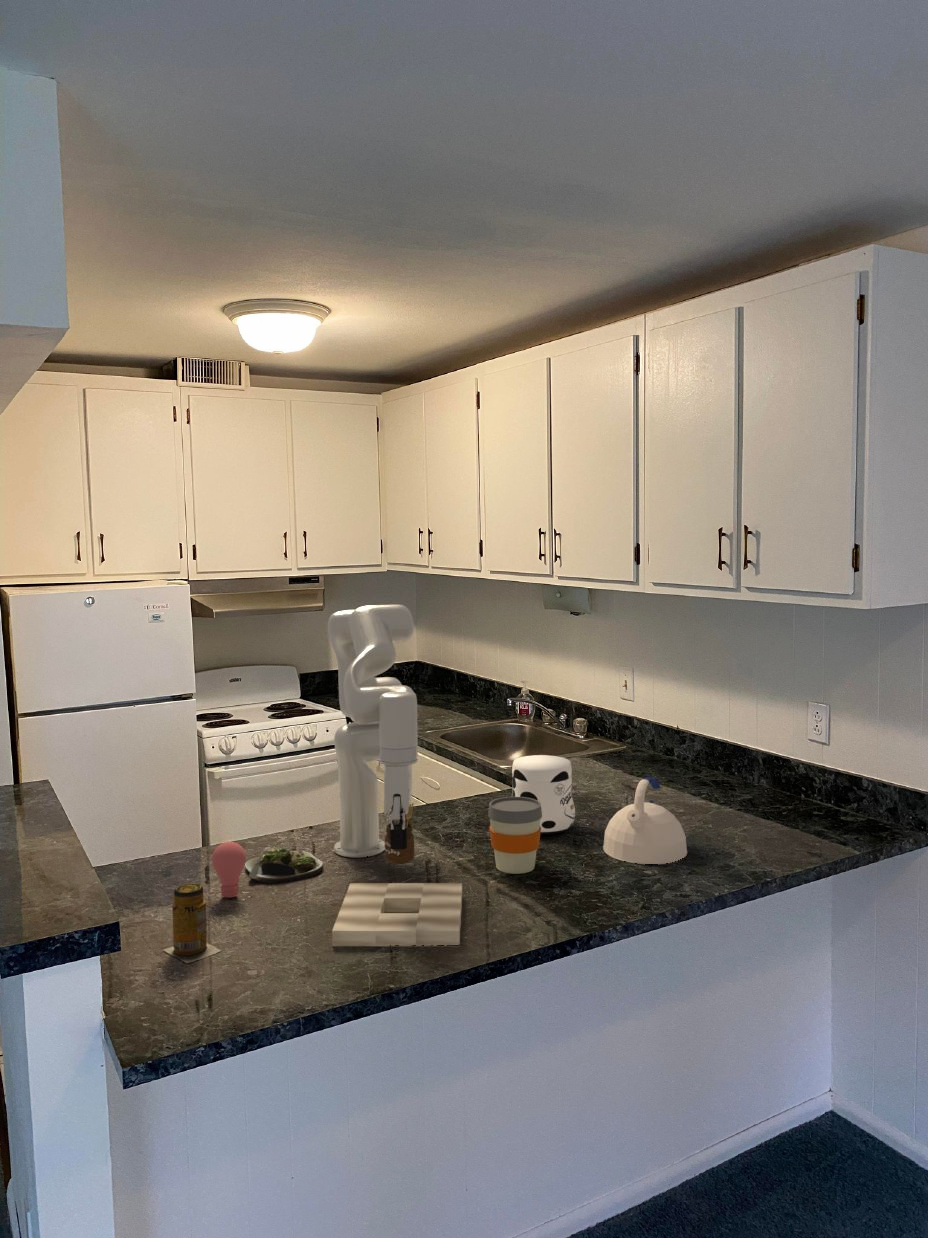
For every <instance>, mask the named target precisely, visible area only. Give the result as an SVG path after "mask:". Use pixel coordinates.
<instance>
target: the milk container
mask: <svg viewBox="0 0 928 1238" xmlns="http://www.w3.org/2000/svg"><path fill="white" fill-rule="evenodd" d="M511 767H512V769H511V772H512V778H511V780H512V781H511V783H512V794H511V797H527V798H532V799H535V800H537V801H539V802H540V803H541V810H542V818H541V819H540V827H541V834H540V835H553V834H554V835H555V834H560V833H562V832H566V831H568V830H569V829H570V828H572V827H573V825H574V823H575V818H576V817H575V816H576V808H575V807H576V806H575V803H574V799H573V793H572V785H573V784H572V783H573V782H572V781H573V780H572V779H573V778H572V775H573V774H572V772H573V771H572V762H571V761H570V760H569V759H568V758H565V757H561V756H557V755H547V754H538V755H537V754H535V755H534V754H533V755H526V756H521V757H518V758H515V759H513V761H512V766H511Z"/></svg>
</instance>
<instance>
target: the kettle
mask: <svg viewBox="0 0 928 1238" xmlns="http://www.w3.org/2000/svg"><path fill="white" fill-rule="evenodd" d="M649 784H650V785H651V788H652V789H655V790H657V789H660V788H661V785H660V783H659V782H658V780H656V778H654V777H648V776H647V777H643V778H641V779H640V780H639V782H638V784H637V787H636V790H635V794H634V802H633V803H631V804H628V805H626V806H624V807H622V808H621V809H620V810H618V811H616V813H615V814H614V815H613V816H612V817H611V819H610V820H609V821H608V823H607V826H606V828H605V830H604V838H603V839H604V840H603V846H602V848H603V852H605V853H606V855H607V856H609V857H610V858H613V859H616V860H619V861H622V862H624V861H626V862H625V863H630V864H635V863H637V865H645V864H658V865H667V864H666V863H668V864H673V863H676V862H679V861H681V860H683V859H684V858H685V857H686V856H687V854H688V849H687V838H686V834H685V831H684V829H683V826H682V824H681V822H680V821H679V820H678V818H677V817H676V816H675V814H673V813H672V812H671V811H669V810H668V809H666V808H665V807H663V806H661V805H659V804H656V803H654V801H653V800H651V799H650V800H649V801H648V802H645V797H646V791H647V788H648V786H649ZM682 858H683V859H682ZM680 859H681V860H680ZM678 860H679V861H678ZM675 861H676V862H675ZM672 862H673V863H672Z"/></svg>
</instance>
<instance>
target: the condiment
mask: <svg viewBox="0 0 928 1238" xmlns="http://www.w3.org/2000/svg"><path fill="white" fill-rule="evenodd" d="M204 897H205V895H204V887H203V886H202V885H201V884H199V883H185V884H184V883H183V884H182V885H179V886H177V887H175V889H174V890H173V900H174V902H173V903H172V905H171V906H172V907H171V908H172V936H173V937H172V941H173V946H169V947H168V948H167V947H166V948H164V949H163V951H164V952H166V953H167V954H169V955H170V956H172V957H173V958H174V957H175V958H176V959H178V960H179V961H181V962H184V963H185V964H189V963H193V962H195V961H198V960H199V961H200V960H203V959H205V958H208V957H210V956H212V955H215V954H217V953H221V952H222V950H221V949H219V948H218V947H215V946H214V945H212V944H210V943H208V942H207V941H208V938H207V936H208V935H207V934H208V930H207V928H208V927H207V926H208V923H207V921H208V920H207V903H206V900H205V898H204Z"/></svg>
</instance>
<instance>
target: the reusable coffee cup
mask: <svg viewBox="0 0 928 1238" xmlns="http://www.w3.org/2000/svg"><path fill="white" fill-rule="evenodd" d="M487 817H488V818H489V822H490V825H489V827H488V828H489V834H490V835H489V836H490V837H489V838H490V843H491V847H492V848H493V853H494V861H495V867H496V869H497V870H498V871H500V872H501V873H506V874H511V875H512V874H517V875H518V874H526V873H529V872H533V870H535V866H536V859H537V852H538V851H537V850H538V849H539V847H540V841H541V835H542V834H541V827H540V819H541V818H542V810H541V803H540V802H539V801H537V800H535V799H532V798H527V797H512V796H504V797H499V798H495V799H493V800H491V801H490V802H489V805H488V814H487Z"/></svg>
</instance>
